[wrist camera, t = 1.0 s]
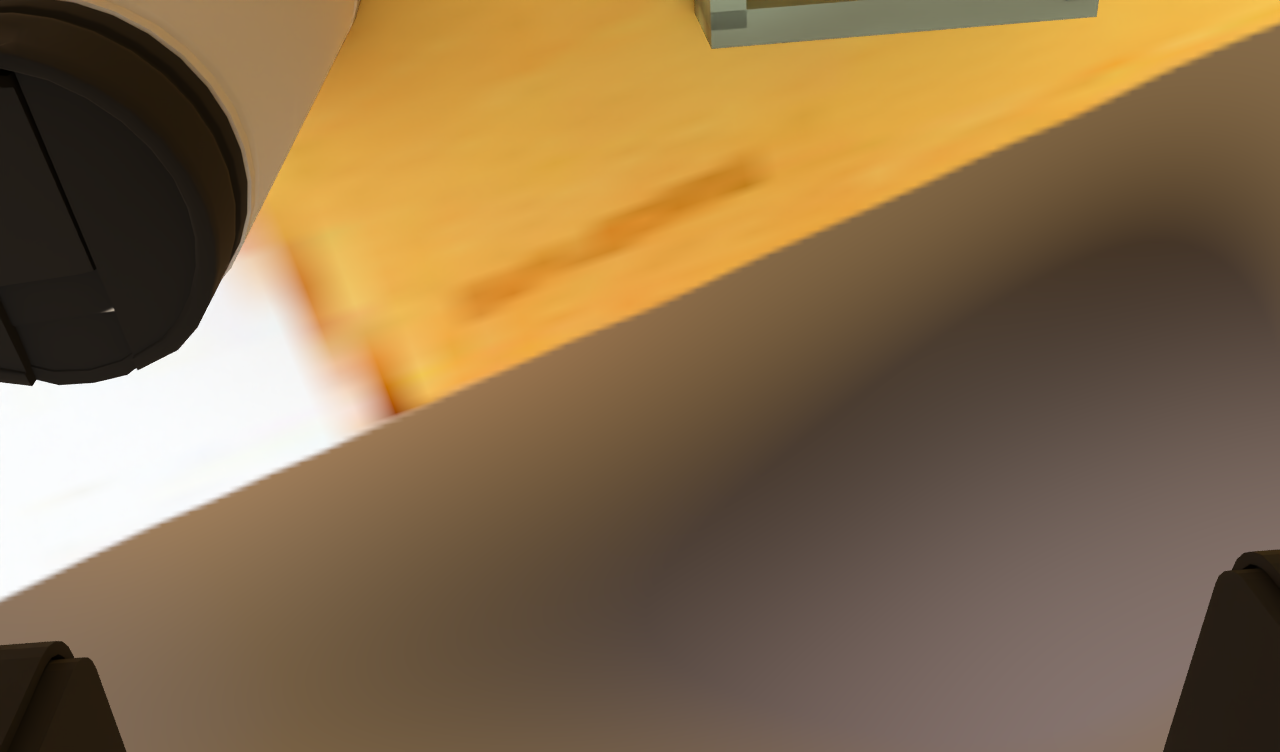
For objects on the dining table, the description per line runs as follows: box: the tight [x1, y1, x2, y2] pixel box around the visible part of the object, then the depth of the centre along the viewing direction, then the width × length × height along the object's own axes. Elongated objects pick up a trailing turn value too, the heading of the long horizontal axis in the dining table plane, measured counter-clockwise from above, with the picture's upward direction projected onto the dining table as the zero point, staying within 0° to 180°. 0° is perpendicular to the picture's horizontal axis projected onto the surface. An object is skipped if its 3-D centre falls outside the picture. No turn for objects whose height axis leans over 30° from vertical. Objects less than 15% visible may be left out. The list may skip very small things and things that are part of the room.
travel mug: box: [0, 0, 360, 386], centre depth 27 cm, size 6×7×20 cm
